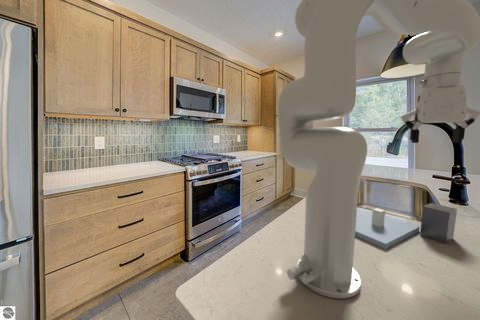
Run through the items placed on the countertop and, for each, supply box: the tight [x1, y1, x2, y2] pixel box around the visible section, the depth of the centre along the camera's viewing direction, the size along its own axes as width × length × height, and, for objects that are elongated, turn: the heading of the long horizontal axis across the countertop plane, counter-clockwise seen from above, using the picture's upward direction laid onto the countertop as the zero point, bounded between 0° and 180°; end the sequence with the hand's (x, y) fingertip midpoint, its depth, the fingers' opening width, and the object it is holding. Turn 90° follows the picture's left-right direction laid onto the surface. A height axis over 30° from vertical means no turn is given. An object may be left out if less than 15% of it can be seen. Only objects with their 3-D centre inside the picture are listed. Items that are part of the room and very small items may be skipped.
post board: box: [355, 207, 421, 250], centre depth 63 cm, size 20×14×6 cm
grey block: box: [419, 202, 458, 245], centre depth 58 cm, size 6×6×9 cm
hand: (435, 142), depth 59 cm, fingers open, 9 cm apart
